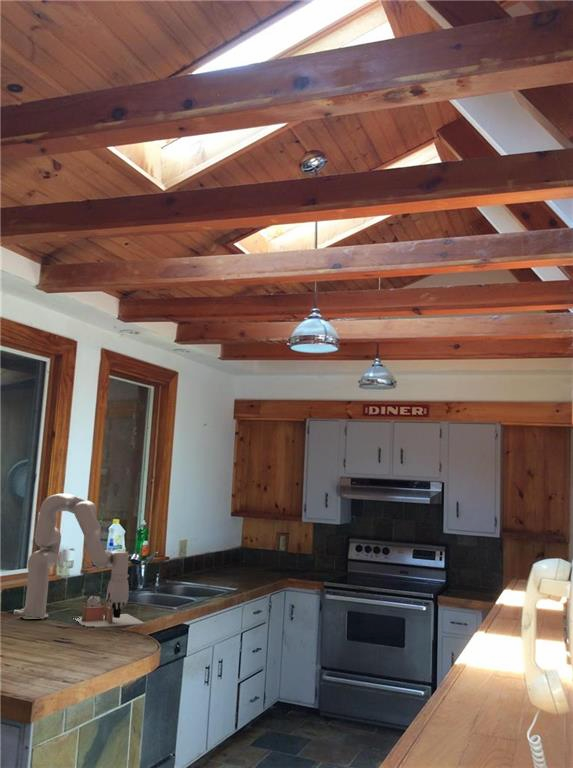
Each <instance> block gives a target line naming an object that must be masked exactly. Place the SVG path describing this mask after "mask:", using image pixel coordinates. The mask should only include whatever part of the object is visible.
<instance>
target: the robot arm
mask: <svg viewBox="0 0 573 768" xmlns="http://www.w3.org/2000/svg"><path fill="white" fill-rule="evenodd" d="M59 512H68V513H72V514H74V518H75V519H76V521H77V523H78V526H79V527H80V529H81V532H82V534H83V536H84V543H85V547H86V551H87V553H88V556H89V558H90V560H91V561H92V564H93V565H94V566H96V568H99V569H100V568H101V569H102V568H105V567H108V566H111V574H110V575H111V576H110V580H109V581H108V584H107V589H106V598H105V599H106V600H105V601H106V602H107V603H106V604H107V605H109V606H110V607H111V608H113V617H114V618H120V614H122V613H121V610H122V609H123V606H124V605H126V604H128V601H129V596H130V595H129V591H130V589H129V588H130V587H129V580H128V578H129V577H130V574H128V571H129V557H130V555H129V551H125V550H124V551H123V550H117V551H115V550H111V549H104V548H105V547H104V546H103V543H102V541H101V533H102V532H101V531H102V528H101V525H100V523H99V521H98V519H97V517H96V513H97V507H96V504H95V503H94V502H92V501H90V500H88V499H85V498H82V497H79V496H76V495H74V494H71V493H57V494H52V495H50V496H48V497H46V498H45V499H44V500H43V502H42V503H41V505H40V509H39V515H38V519H37V520H38V521H37V525H36V530H35V533H34V534H35V535H34V543H35V545H36V546H37V547H39V549H38V550H36V551H33V552H32V554H31V555H30V556H29V558H28V561H27V571H28V573H27V584H26V593H25V594H26V595H25V603H24V604H25V605H24V607H23V608H21V609H14V610H13V615H19V616H21V615H25V616H32V617H40V618H45V617H48V618H49V614H48V613H46V612H47V611H46V610H47V603H48V601H47V600H48V589H49V583H50V582H49V579H50V574H49V569H50V568H53V567H54V566H55V565H56V563H57V562H58V558H59V554H60V549H61V548H60V547H61V542H62V534H61V531H60V530H59V528H58V527H56V526H57V521H58V517H57V515H58V514H57V513H59Z"/></svg>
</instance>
